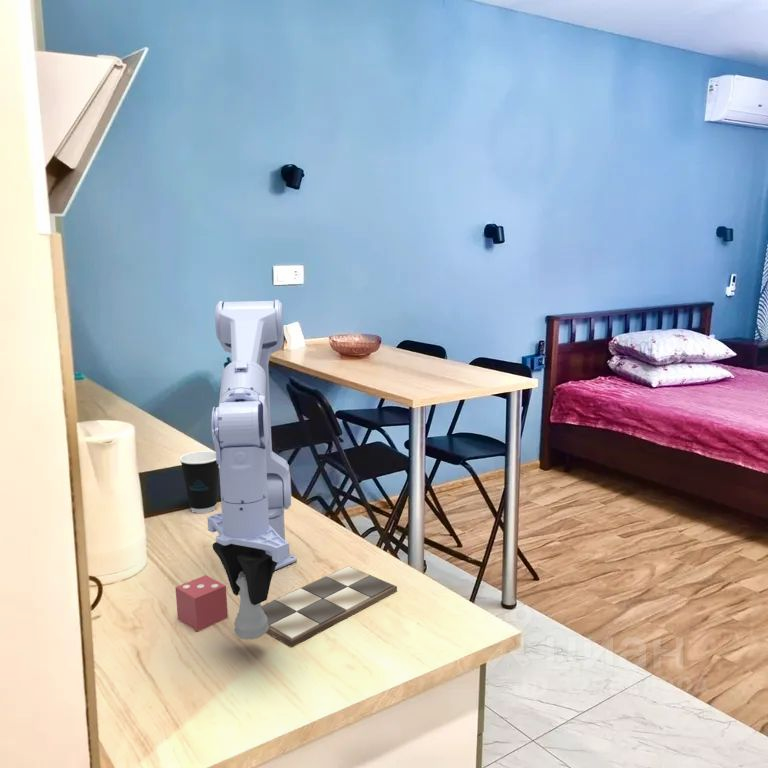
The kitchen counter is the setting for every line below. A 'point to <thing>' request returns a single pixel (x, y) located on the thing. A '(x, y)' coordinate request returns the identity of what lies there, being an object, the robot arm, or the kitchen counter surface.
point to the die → (201, 602)
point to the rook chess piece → (249, 614)
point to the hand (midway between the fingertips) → (250, 596)
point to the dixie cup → (201, 480)
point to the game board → (323, 604)
